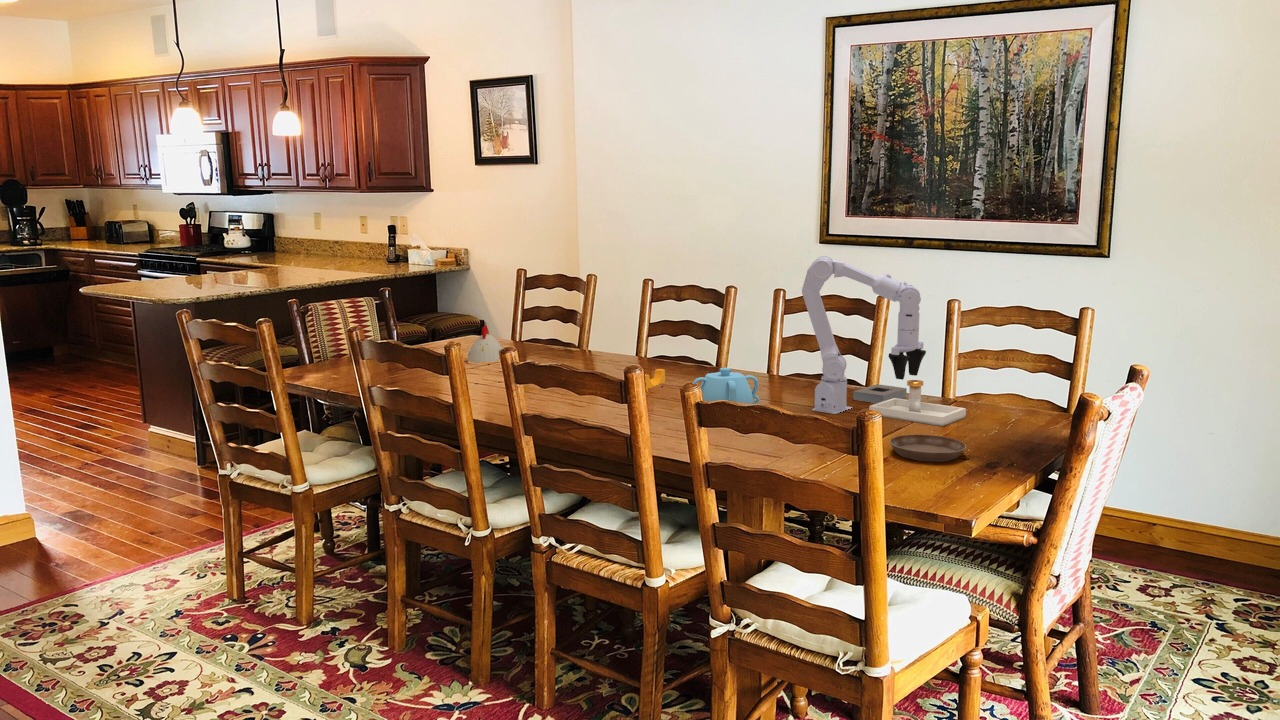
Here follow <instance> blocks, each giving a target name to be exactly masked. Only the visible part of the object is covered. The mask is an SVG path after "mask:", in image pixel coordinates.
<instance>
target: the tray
mask: <svg viewBox="0 0 1280 720" xmlns="http://www.w3.org/2000/svg"><path fill="white" fill-rule="evenodd" d="M869 410H876V411H878V412H880V413H881V414H882V416H883V417H882V416H881V417H882V418H889V419H894V420H900V421H906V422H912V423H918V424H919V423H920V424H924V425H925V424H927V425H932V426H936V427H937V426H938V427H943V426H947V425H950V424H952V423H955V422H957V421H960V420H962V419H965V418H966V417H967V415H966V414H967V413H966V412H967V408H964V407H961V406H960V407H958V406H952V405H944V404H939V403H931V402H924V401H921V413H918V412H911V411H909V399H905V398H904V399H897V398H893V399H890V400H886V401H883V402H880V403H877V404H872V405H869V409H868V411H869Z"/></svg>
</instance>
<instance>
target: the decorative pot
mask: <svg viewBox="0 0 1280 720" xmlns="http://www.w3.org/2000/svg"><path fill="white" fill-rule="evenodd" d="M747 380H753V381H754V385H753V388H752V389H751V387H750V383H748V381H747ZM698 382H701V384H700V386H699V388H700V387H701V389H702V394H703V400H704V401H715V400H728V401H736V402H742V403H758V404H759V403H760V401H761V399H760V397H759V396H758V395H756V394H757V391H758V388H759V380H758V378H757V377H755V376H754V375H750V374H748V375H747V374H745V375H744V374H743V373H741V372H733V371H732V368H731V367H720V368H719V371H716V372H711V373H710V372H709V373H706V374H705V376H704V377H702V376H701V377H697V378H695V379H694V380H693V382H692V384H696V385H697V383H698ZM692 384H691V385H692ZM754 399H756V400H754Z"/></svg>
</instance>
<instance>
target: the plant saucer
mask: <svg viewBox="0 0 1280 720" xmlns="http://www.w3.org/2000/svg"><path fill="white" fill-rule="evenodd" d="M889 444H890V446H891V447H892V449H893V450H894V451H895V452H896V454H898V455H899V456H900V457H902V458H905V459H909V460H913V461H919V462H930V463H931V462H932V463H934V462H935V463H936V462H937V463H938V462H941V463H942V462H949V461H952V460H955V459H957V458H958V457H960V456H961V455H962V454H963V453H964V451H965V450H966V449H967V445H966V443H965V442H963V441H961V440H959V439H955V438H951V437H947V436H940V435H933V434H905V435H899V436H894V437H892V438H891V439H890V440H889Z"/></svg>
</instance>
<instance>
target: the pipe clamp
mask: <svg viewBox="0 0 1280 720" xmlns="http://www.w3.org/2000/svg"><path fill="white" fill-rule="evenodd" d="M644 374H645V373H644ZM664 382H665V383H666V369H662V368H657V369H654V376H653V378H650V374H645V383H646V390H647V392H648V388H649V389H650V388H652V387H654V386H656V385H659V384H661V383H664ZM648 393H649V392H648Z"/></svg>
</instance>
